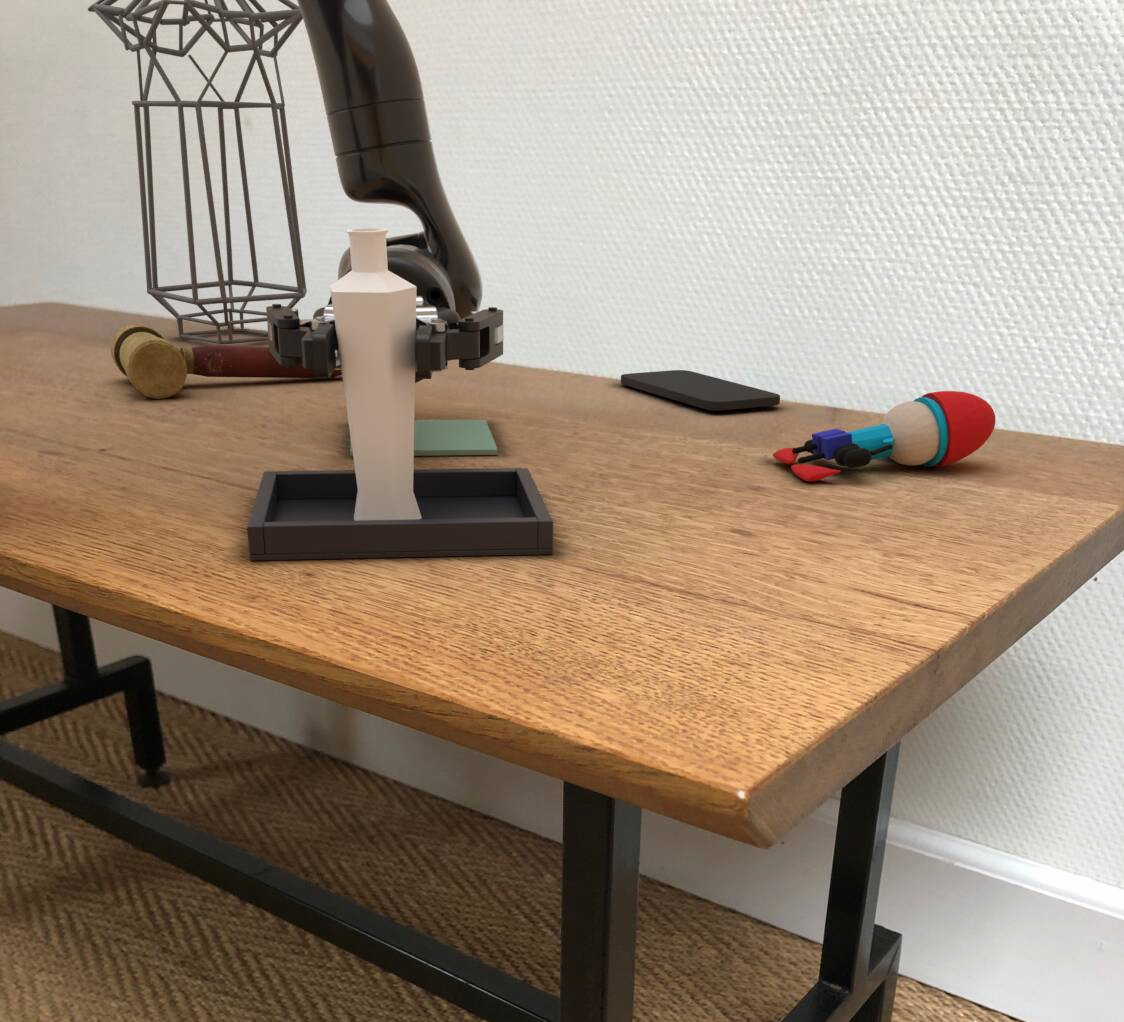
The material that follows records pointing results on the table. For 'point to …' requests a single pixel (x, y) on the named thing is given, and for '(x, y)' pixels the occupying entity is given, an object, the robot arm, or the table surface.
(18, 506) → the table surface
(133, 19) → the geometric lantern
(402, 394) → the perfume bottle
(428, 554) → the tray
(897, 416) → the toy figure
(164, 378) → the gavel
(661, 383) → the phone
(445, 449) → the mat
